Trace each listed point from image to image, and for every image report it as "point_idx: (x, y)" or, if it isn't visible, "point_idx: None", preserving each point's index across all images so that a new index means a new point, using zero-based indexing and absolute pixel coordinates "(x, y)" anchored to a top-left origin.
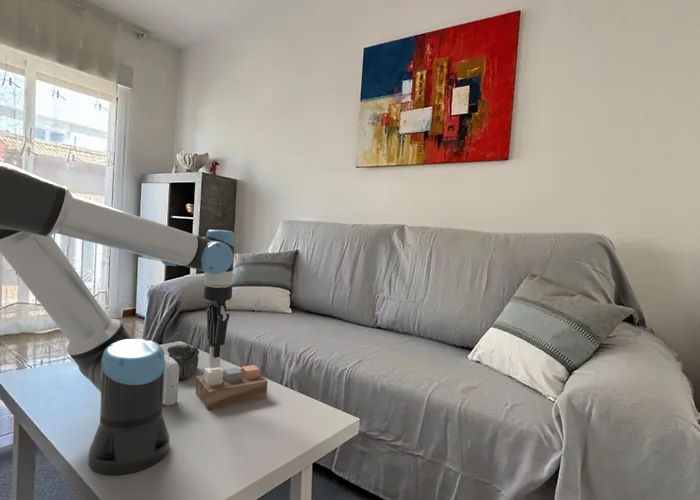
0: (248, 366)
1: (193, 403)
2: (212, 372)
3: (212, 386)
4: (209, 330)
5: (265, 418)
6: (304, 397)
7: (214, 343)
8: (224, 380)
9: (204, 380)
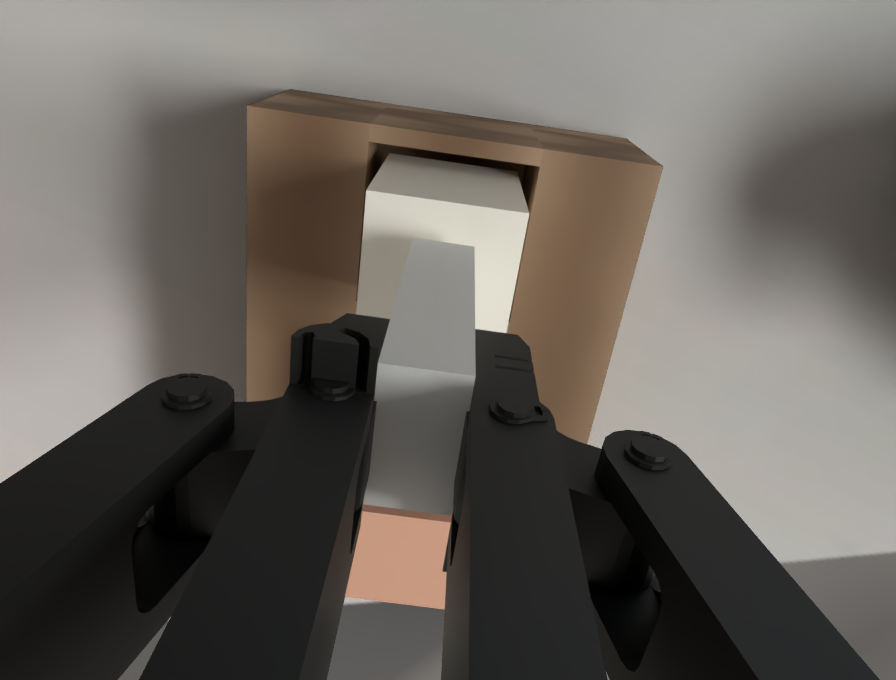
0: (438, 565)
1: (456, 42)
2: (364, 230)
3: (347, 186)
4: (678, 589)
5: (15, 338)
6: None
7: (189, 390)
8: None
9: (500, 179)
